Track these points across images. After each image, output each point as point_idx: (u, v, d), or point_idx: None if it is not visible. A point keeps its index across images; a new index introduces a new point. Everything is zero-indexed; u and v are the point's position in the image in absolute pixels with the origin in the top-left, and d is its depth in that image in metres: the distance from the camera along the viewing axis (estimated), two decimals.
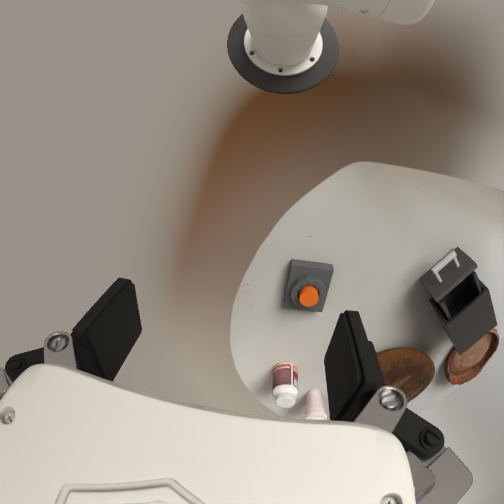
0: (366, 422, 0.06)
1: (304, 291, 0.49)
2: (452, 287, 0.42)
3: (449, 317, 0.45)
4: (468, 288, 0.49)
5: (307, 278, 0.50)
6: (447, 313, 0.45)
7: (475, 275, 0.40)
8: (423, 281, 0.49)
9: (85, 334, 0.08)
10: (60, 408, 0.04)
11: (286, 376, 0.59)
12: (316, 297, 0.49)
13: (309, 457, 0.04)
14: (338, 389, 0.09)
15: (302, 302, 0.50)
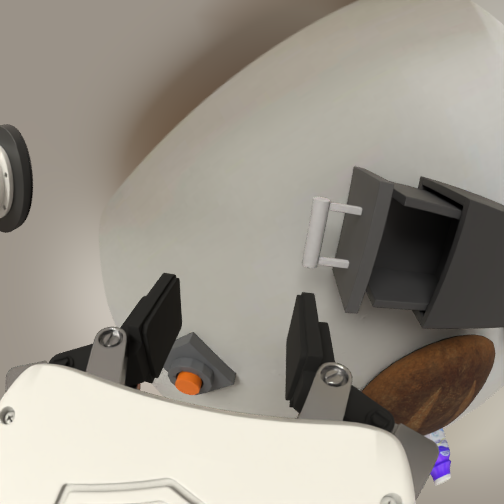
0: (317, 403, 0.07)
1: None
2: (366, 269, 0.20)
3: (423, 307, 0.22)
4: None
5: (171, 367, 0.35)
6: (410, 306, 0.22)
7: (409, 201, 0.18)
8: (334, 273, 0.28)
9: (140, 328, 0.09)
10: (60, 408, 0.04)
11: None
12: (191, 383, 0.34)
13: (309, 457, 0.04)
14: (291, 367, 0.10)
15: (186, 392, 0.35)
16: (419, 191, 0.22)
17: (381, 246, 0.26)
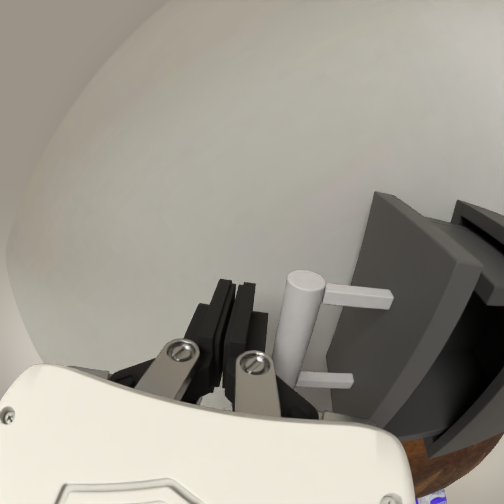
0: (247, 396, 0.07)
1: None
2: (384, 415, 0.09)
3: None
4: None
5: None
6: (441, 431, 0.10)
7: (498, 296, 0.06)
8: (329, 367, 0.16)
9: (213, 339, 0.09)
10: (60, 408, 0.04)
11: None
12: None
13: (309, 457, 0.04)
14: None
15: None
16: (486, 242, 0.10)
17: None
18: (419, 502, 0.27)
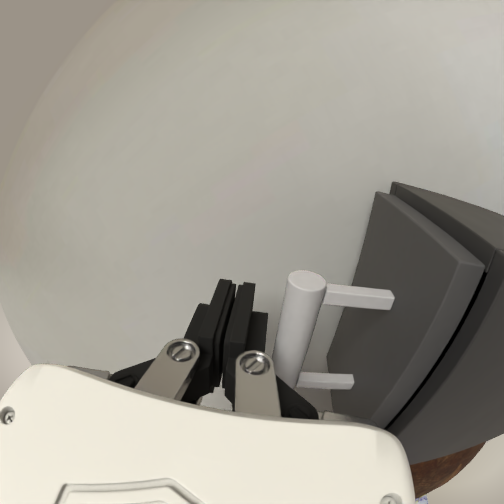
0: (248, 396, 0.07)
1: None
2: (385, 416, 0.09)
3: None
4: None
5: None
6: None
7: None
8: (329, 368, 0.16)
9: (213, 339, 0.09)
10: (60, 408, 0.04)
11: None
12: None
13: (309, 457, 0.04)
14: None
15: None
16: None
17: None
18: None
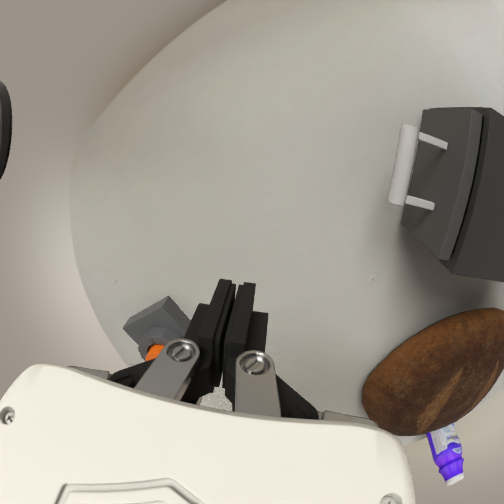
0: (248, 396, 0.07)
1: (146, 357, 0.29)
2: (462, 204, 0.15)
3: None
4: None
5: (141, 338, 0.30)
6: None
7: None
8: (407, 225, 0.22)
9: (213, 339, 0.09)
10: (60, 408, 0.04)
11: None
12: None
13: (309, 457, 0.04)
14: None
15: None
16: None
17: None
18: (436, 448, 0.33)
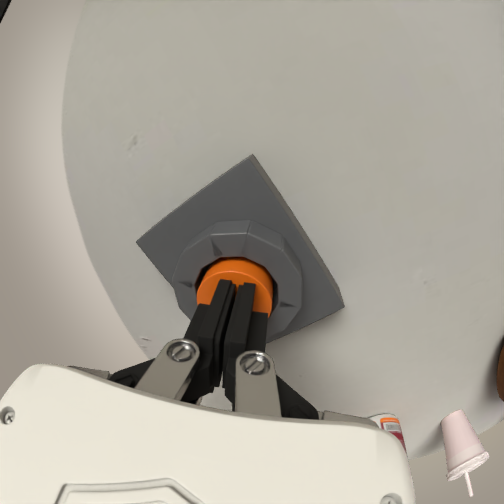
0: (248, 396, 0.07)
1: None
2: None
3: None
4: None
5: (184, 249, 0.13)
6: None
7: None
8: None
9: (213, 339, 0.09)
10: (60, 408, 0.04)
11: None
12: None
13: (309, 457, 0.04)
14: None
15: None
16: None
17: None
18: None
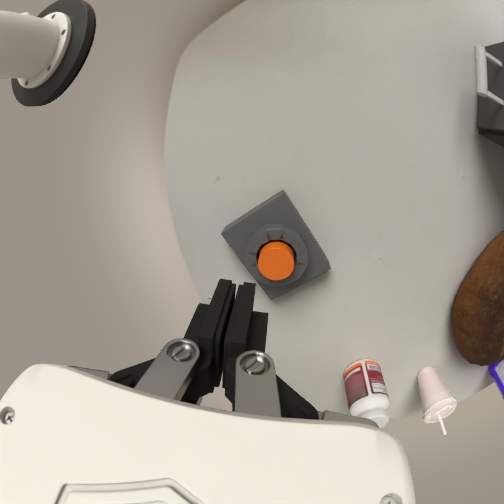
0: (248, 396, 0.07)
1: (259, 258, 0.27)
2: None
3: None
4: None
5: (252, 236, 0.28)
6: None
7: None
8: (483, 125, 0.20)
9: (213, 339, 0.09)
10: (60, 408, 0.04)
11: (358, 386, 0.34)
12: (284, 254, 0.27)
13: (309, 457, 0.04)
14: None
15: (272, 277, 0.28)
16: None
17: None
18: None
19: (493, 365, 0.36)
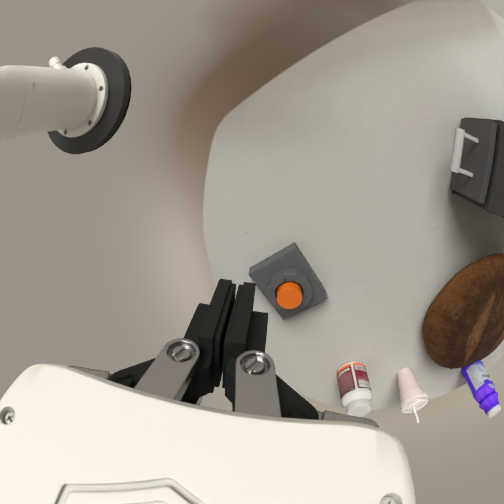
0: (248, 396, 0.07)
1: (277, 294, 0.38)
2: (488, 172, 0.24)
3: None
4: None
5: (272, 278, 0.39)
6: None
7: None
8: (455, 188, 0.31)
9: (213, 339, 0.09)
10: (60, 408, 0.04)
11: (347, 382, 0.45)
12: (295, 292, 0.38)
13: (309, 457, 0.04)
14: None
15: (286, 306, 0.39)
16: None
17: None
18: (474, 385, 0.42)
19: (465, 367, 0.48)
